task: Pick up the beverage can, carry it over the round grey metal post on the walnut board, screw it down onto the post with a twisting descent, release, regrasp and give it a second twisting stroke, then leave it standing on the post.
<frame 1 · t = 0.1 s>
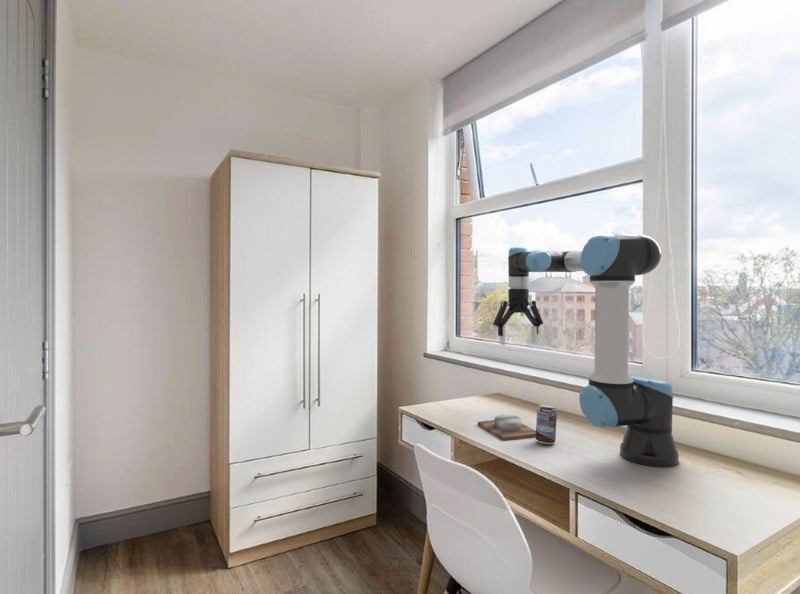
hand: (518, 343, 180), 28 cm above the table, fingers open, 13 cm apart
post board: (507, 430, 163), on the table
beverage can: (546, 443, 150), on the table
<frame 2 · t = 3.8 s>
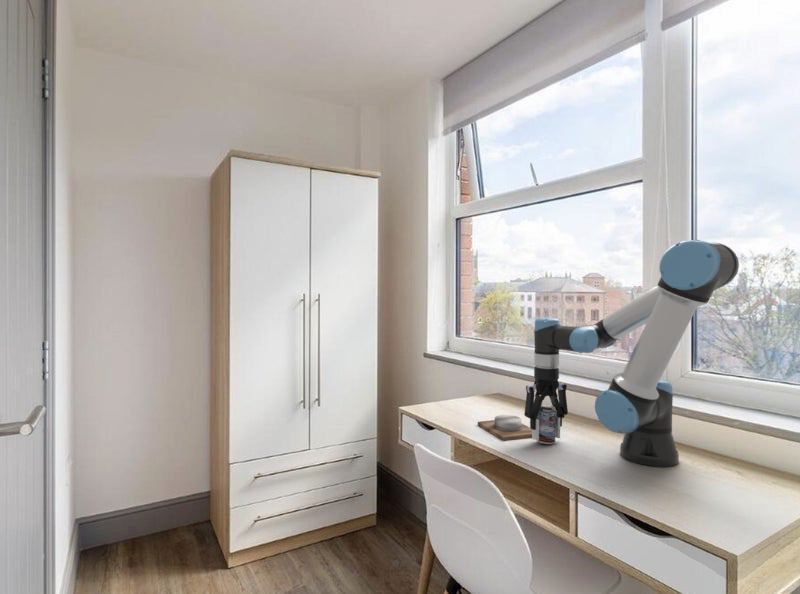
hand: (546, 438, 150), 2 cm above the table, fingers closed on beverage can, 7 cm apart
beverage can: (546, 443, 150), on the table, touching gripper
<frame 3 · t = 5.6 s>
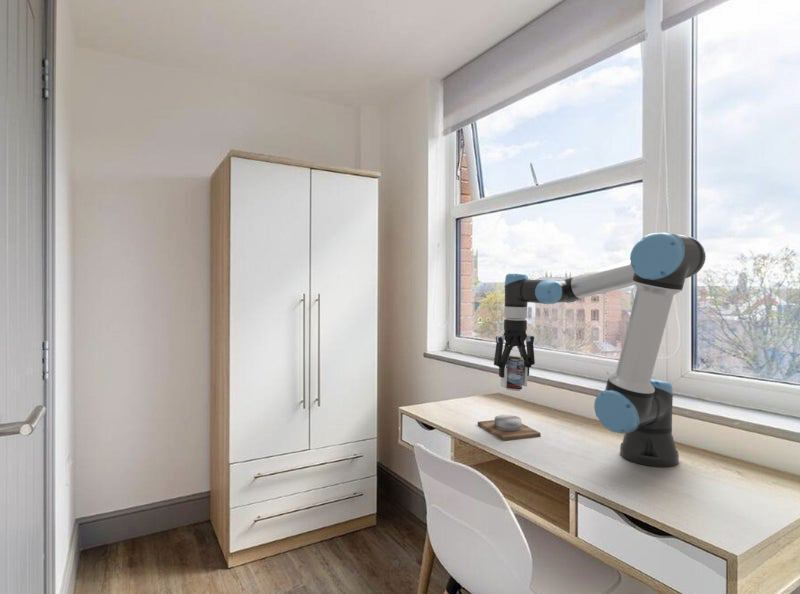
hand: (513, 385, 161), 16 cm above the table, fingers closed on beverage can, 7 cm apart
beverage can: (513, 391, 161), point 14 cm above the table, touching gripper
when the fingers open (6 cm above the table, at t = 7.7 s): beverage can stays where it is, resting on post board.
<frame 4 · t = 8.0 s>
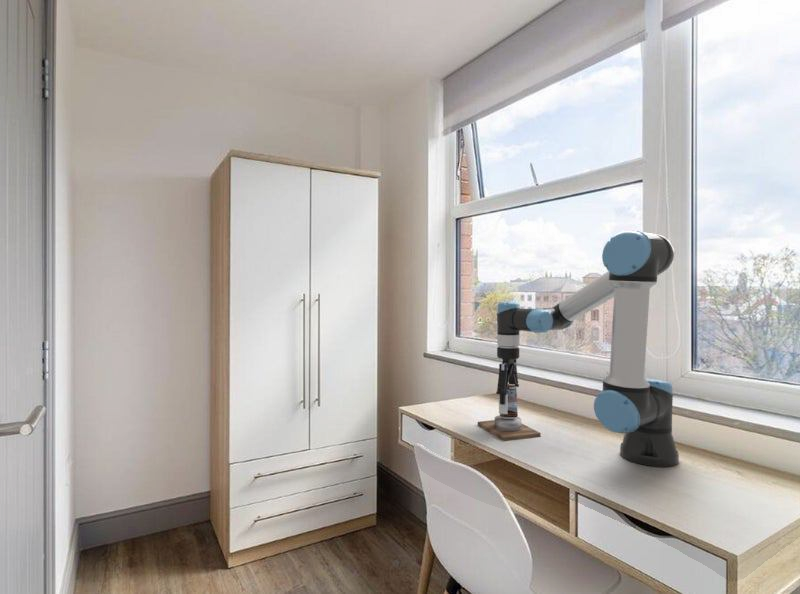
hand: (507, 409, 163), 7 cm above the table, fingers open, 11 cm apart
beverage can: (507, 419, 163), point 4 cm above the table, touching post board
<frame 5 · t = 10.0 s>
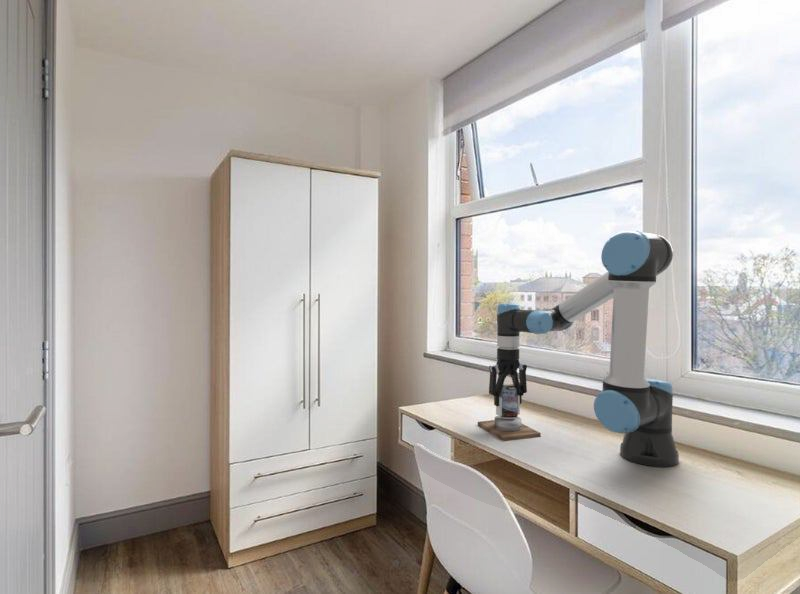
hand: (507, 414, 163), 6 cm above the table, fingers closed on beverage can, 6 cm apart
beverage can: (507, 419, 163), point 4 cm above the table, touching gripper, post board
when the fingers open (6 cm above the table, at t = 11.6 s): beverage can stays where it is, resting on post board.
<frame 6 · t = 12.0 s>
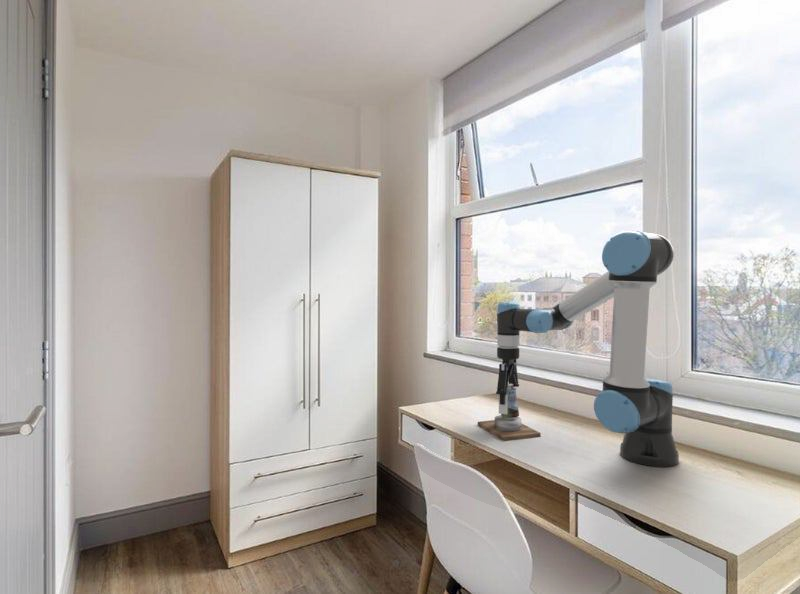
hand: (507, 409, 163), 7 cm above the table, fingers open, 12 cm apart
beverage can: (508, 419, 163), point 4 cm above the table, touching post board
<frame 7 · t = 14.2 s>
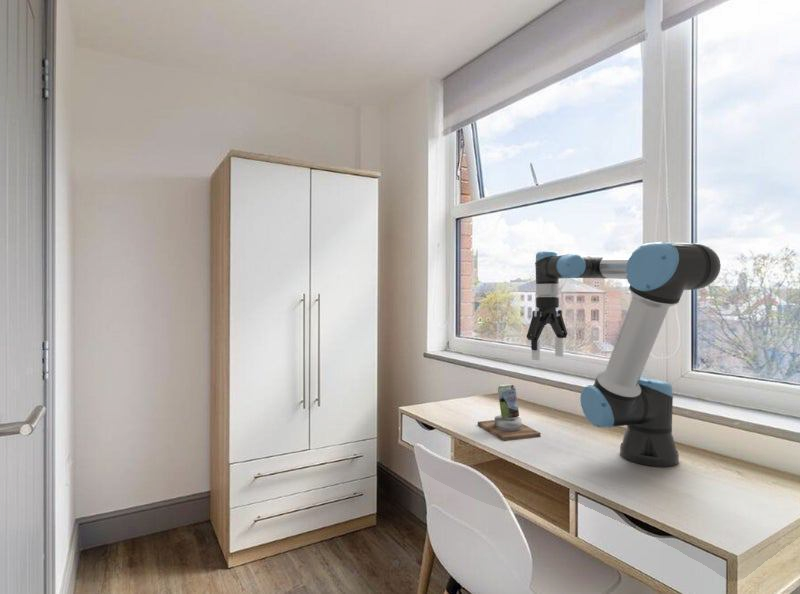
hand: (547, 358, 162), 25 cm above the table, fingers open, 13 cm apart
nothing on the table moved.
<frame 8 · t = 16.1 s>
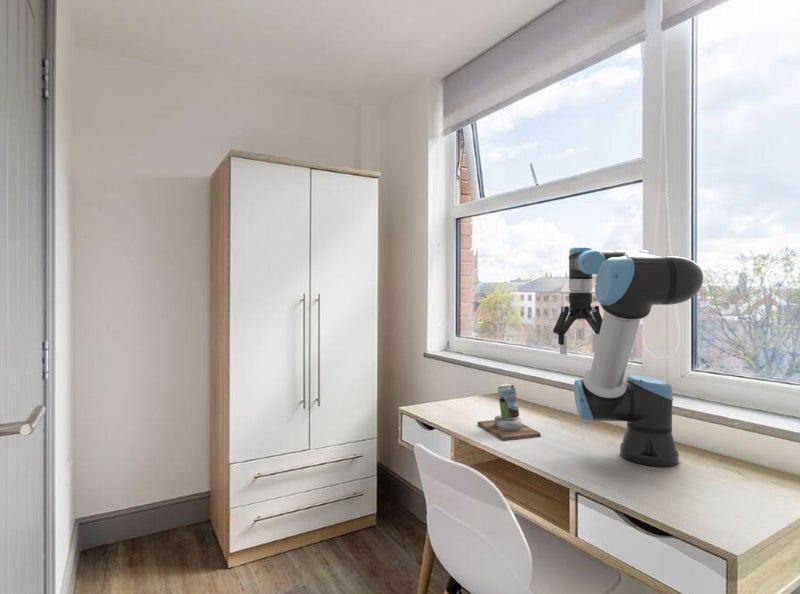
hand: (579, 353, 163), 27 cm above the table, fingers open, 13 cm apart
nothing on the table moved.
at the end: beverage can 0.1 cm off-centre on the post board, point 4.0 cm above the post board's base; beverage can tilted 0°; beverage can touching post board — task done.
